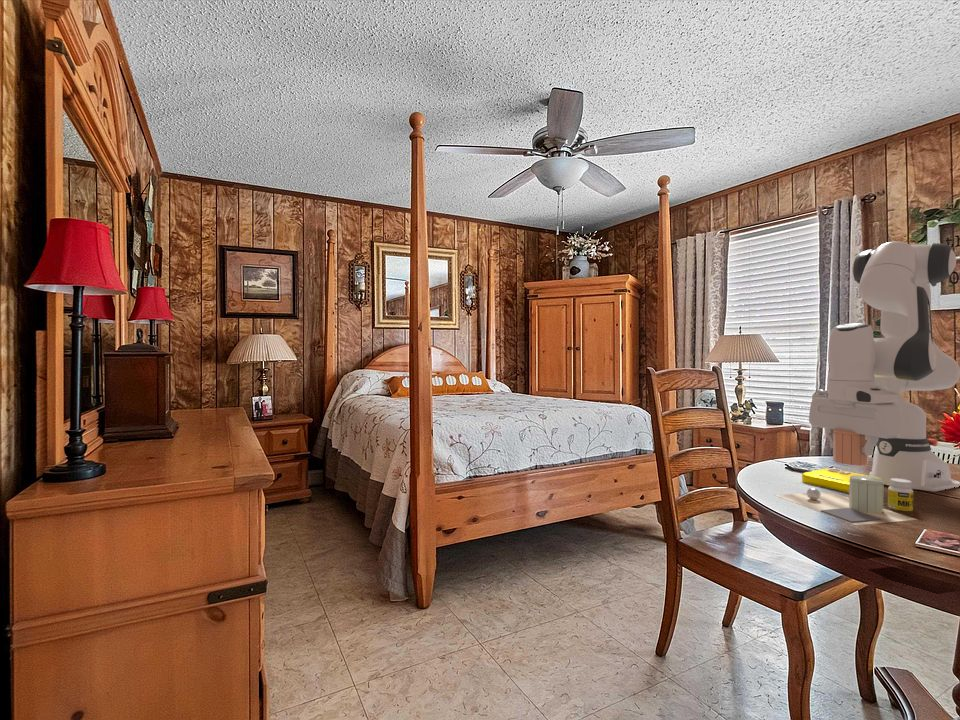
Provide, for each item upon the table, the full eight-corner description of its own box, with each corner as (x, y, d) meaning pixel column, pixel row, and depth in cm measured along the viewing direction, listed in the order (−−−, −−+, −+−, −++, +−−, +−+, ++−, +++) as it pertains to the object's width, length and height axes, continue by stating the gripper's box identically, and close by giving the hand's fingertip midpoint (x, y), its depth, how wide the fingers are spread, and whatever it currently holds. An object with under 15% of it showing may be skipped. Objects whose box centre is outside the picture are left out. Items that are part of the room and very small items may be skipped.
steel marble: (813, 497, 130) (813, 486, 129) (823, 501, 127) (823, 489, 127) (803, 498, 129) (803, 487, 129) (813, 502, 126) (813, 490, 126)
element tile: (798, 487, 146) (798, 471, 146) (828, 481, 152) (828, 466, 152) (855, 501, 132) (856, 483, 132) (885, 493, 139) (885, 476, 139)
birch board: (828, 496, 135) (828, 491, 135) (917, 526, 113) (917, 519, 113) (775, 500, 132) (775, 495, 132) (856, 531, 109) (856, 525, 109)
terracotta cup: (849, 458, 119) (849, 427, 119) (875, 464, 113) (875, 432, 113) (826, 459, 118) (826, 428, 118) (851, 466, 112) (851, 433, 111)
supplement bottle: (897, 517, 119) (898, 482, 118) (882, 510, 123) (882, 477, 123) (918, 517, 118) (918, 482, 118) (902, 510, 123) (902, 477, 123)
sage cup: (864, 504, 124) (864, 474, 124) (889, 512, 118) (890, 481, 117) (843, 506, 123) (843, 476, 122) (867, 514, 116) (868, 482, 116)
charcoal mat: (848, 509, 120) (848, 507, 120) (880, 520, 112) (880, 518, 112) (820, 511, 119) (820, 510, 119) (851, 522, 111) (851, 521, 111)
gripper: (802, 389, 125) (802, 443, 125) (882, 396, 105) (882, 461, 105) (823, 388, 126) (823, 442, 126) (906, 395, 106) (906, 459, 106)
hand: (850, 451), depth 115 cm, fingers closed on terracotta cup, 6 cm apart
